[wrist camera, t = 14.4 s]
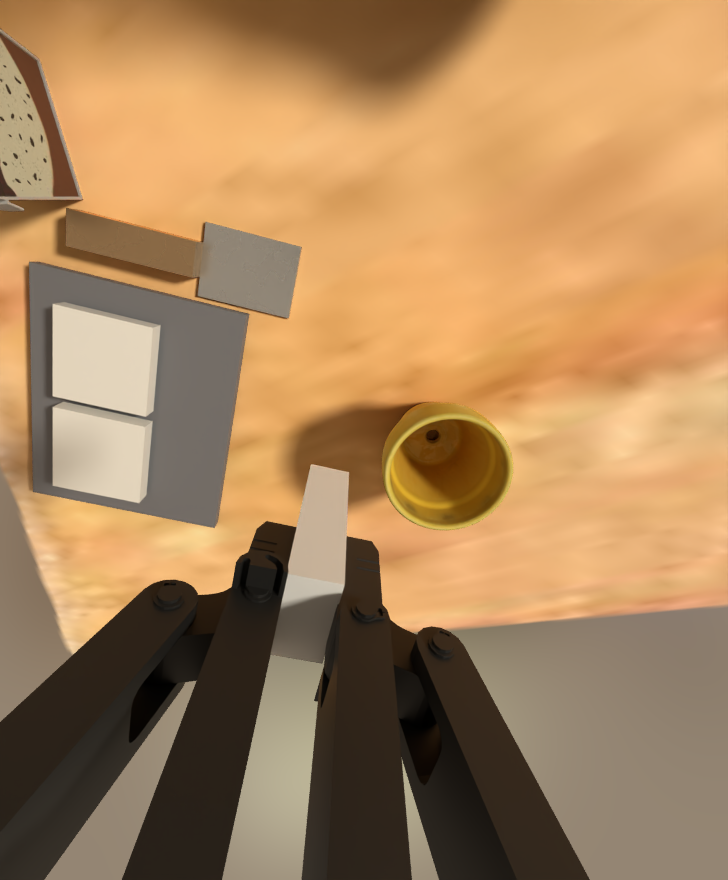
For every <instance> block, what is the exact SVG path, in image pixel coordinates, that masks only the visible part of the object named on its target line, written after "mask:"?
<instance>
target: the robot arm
mask: <svg viewBox="0 0 728 880" xmlns="http://www.w3.org/2000/svg"><path fill="white" fill-rule="evenodd" d="M348 488H349V472H346V471H341V470H337V469H332V468H327V467H323V466H318V465H314V464H311V466H310V471H309V475H308V479H307V484H306V488H305V493H304V497H303V502H302V506H301V510H300V515H299V519H298V524H297V527H293V526H288V525H283V524H278V523H273V522H268V521H266V522H265V523H264V524H262V525H261V526H260V527H259V528H257V530H256V533H255V536H254V538H253V541H252V544H251V546H250V549H249V552H248V553H246V554H244V555H242V556H240V558H239V559H238V560H237V562H236V566H235V572H234V578H233V583H232V587H231V588H229V589H228V590H226V591H223V592H220V593H216V594H209V595H198V593H197V592H196V590H195V589H194V587H193V586H191V585H189V584H188V583H186V582H183V581H178V580H163V581H160V582H156V583H153V584H151V585H150V586H148V587H147V588H145V589H144V590H143V591H142V592H141V593H140V594H139V595H137V596H136V597H135V598H134V599H133V600H132V601H131V602H130V603H129V604H128V605H127V606H126V607H124V608H123V609H122V610H121V611H120V612H119V613H118V614H117V615H116V616H115V617H114V618H113V619H111V620H110V621H109V622H108V623H107V624H106V625H105V626H104V627H103V628H102V629H101V630H100V631H98V632H97V633H96V634H95V635H94V636H93V637H92V638H91V639H90V640H89V641H88V642H86V643H85V644H84V645H83V646H82V647H81V648H80V649H79V650H78V651H77V652H76V653H75V654H73V655H72V656H71V657H70V658H69V659H68V660H67V661H66V662H65V663H64V664H63V665H62V666H60V667H59V668H58V669H57V670H56V671H55V672H54V673H53V674H52V675H51V676H50V677H49V678H48V679H46V680H45V681H44V682H43V683H42V684H41V685H40V686H39V687H38V688H37V689H36V690H35V691H34V692H32V693H31V694H30V695H29V696H28V697H27V698H26V699H25V700H24V701H23V702H21V703H20V704H19V705H18V706H17V707H16V708H15V709H14V710H13V711H12V712H11V713H10V714H8V715H7V716H6V717H5V718H4V719H3V720H2V721H1V722H0V880H44V879H45V878H46V877H47V875H48V874H49V872H50V871H51V869H52V868H53V867H54V865H55V864H56V863H57V861H58V860H59V858H60V857H61V856H62V854H63V853H64V852H65V850H66V849H67V847H68V846H69V844H70V843H71V842H72V840H73V839H74V838H75V836H76V835H77V833H78V832H79V831H80V829H81V828H82V827H83V825H84V824H85V822H86V821H87V820H88V818H89V817H90V815H91V814H92V813H93V811H94V810H95V809H96V807H97V806H98V804H99V803H100V801H101V800H102V799H103V797H104V796H105V795H106V793H107V792H108V790H109V789H110V788H111V786H112V785H113V783H114V782H115V781H116V779H117V778H118V776H119V775H120V774H121V772H122V771H123V770H124V768H125V767H126V765H127V764H128V763H129V761H130V760H131V758H132V757H133V756H134V754H135V753H136V752H137V750H138V749H139V747H140V746H141V745H142V743H143V742H144V741H145V739H146V738H147V736H148V735H149V734H150V732H151V731H152V729H153V728H154V727H155V725H156V724H157V722H158V721H159V720H160V718H161V717H162V715H163V714H164V713H165V711H166V710H167V709H168V707H169V706H170V704H171V703H172V702H173V700H174V699H175V698H176V696H177V695H178V693H179V692H180V691H181V689H182V688H183V686H184V684H185V682H189V681H196V684H195V687H194V689H193V692H192V695H191V698H190V700H189V703H188V705H187V708H186V711H185V713H184V716H183V719H182V721H181V724H180V727H179V729H178V732H177V735H176V737H175V740H174V743H173V745H172V748H171V751H170V753H169V756H168V759H167V761H166V764H165V766H164V769H163V772H162V774H161V777H160V780H159V782H158V785H157V788H156V790H155V793H154V796H153V798H152V801H151V804H150V806H149V809H148V812H147V814H146V817H145V820H144V822H143V825H142V828H141V830H140V833H139V836H138V838H137V841H136V843H135V846H134V849H133V851H132V854H131V857H130V859H129V862H128V865H127V867H126V870H125V873H124V875H123V878H122V880H222V876H223V871H224V867H225V862H226V857H227V853H228V849H229V844H230V839H231V835H232V830H233V825H234V821H235V816H236V812H237V807H238V802H239V798H240V793H241V788H242V784H243V779H244V775H245V770H246V765H247V761H248V756H249V751H250V747H251V742H252V737H253V733H254V728H255V724H256V718H257V714H258V710H259V705H260V700H261V696H262V691H263V686H264V682H265V677H266V672H267V668H268V663H269V659H270V655H276V656H282V657H288V658H293V659H299V660H305V661H310V662H316V663H323V659H324V656H325V662H324V668H323V672H322V675H321V679H320V683H319V686H318V689H317V692H316V696H315V699H314V701H318V707H317V719H316V729H315V740H314V751H313V761H312V773H311V783H310V794H309V805H308V816H307V828H306V838H305V849H304V860H303V871H302V880H412V876H411V864H410V854H409V841H408V829H407V817H406V805H405V794H404V782H403V771H402V760H403V764H404V767H405V770H406V773H407V777H408V780H409V783H410V786H411V790H412V793H413V796H414V799H415V802H416V806H417V809H418V812H419V816H420V819H421V822H422V825H423V829H424V832H425V835H426V838H427V842H428V845H429V848H430V851H431V855H432V858H433V861H434V864H435V868H436V871H437V874H438V877H439V880H590V879H589V877H588V876H587V874H586V872H585V870H584V868H583V866H582V864H581V863H580V861H579V859H578V857H577V855H576V853H575V851H574V850H573V848H572V846H571V844H570V842H569V840H568V838H567V837H566V835H565V833H564V831H563V829H562V827H561V826H560V824H559V822H558V820H557V818H556V816H555V814H554V812H553V811H552V809H551V807H550V805H549V803H548V801H547V799H546V798H545V796H544V794H543V792H542V790H541V789H540V786H539V784H538V783H537V781H536V779H535V777H534V775H533V773H532V771H531V770H530V768H529V766H528V764H527V762H526V760H525V759H524V757H523V755H522V753H521V751H520V749H519V747H518V745H517V744H516V742H515V740H514V738H513V736H512V734H511V732H510V730H509V729H508V727H507V725H506V723H505V721H504V720H503V718H502V716H501V714H500V712H499V710H498V708H497V706H496V705H495V703H494V701H493V699H492V697H491V695H490V693H489V692H488V690H487V688H486V686H485V684H484V682H483V680H482V678H481V677H480V675H479V673H478V671H477V669H476V667H475V666H474V664H473V662H472V660H471V658H470V656H469V654H468V652H467V651H466V649H465V647H464V645H463V644H462V643H461V642H460V640H459V639H458V638H457V637H456V636H455V635H453V634H452V633H451V632H449V631H447V630H444V629H442V628H438V627H427V628H423V629H422V630H421V631H419V632H418V635H416V634H414V633H412V632H409V631H407V630H405V629H403V628H401V627H399V626H398V625H396V624H395V623H394V622H392V621H391V620H390V618H389V614H388V611H387V609H386V608H385V607H384V606H383V605H382V593H381V579H380V565H379V552H378V550H377V549H376V547H375V546H374V544H373V542H372V541H367V540H362V539H357V538H352V537H347V513H348ZM401 757H402V758H401Z"/></svg>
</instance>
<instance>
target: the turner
mask: <svg viewBox="0 0 728 880" xmlns="http://www.w3.org/2000/svg"><path fill="white" fill-rule="evenodd" d="M66 246H68V247H72V248H76V249H80V250H84V251H88V252H92V253H96V254H100V255H104V256H108V257H111V258H115V259H119V260H123V261H127V262H131V263H135V264H139V265H143V266H147V267H151V268H155V269H159V270H163V271H167V272H171V273H175V274H179V275H183V276H187V277H191V278H195V277H200V279H199V288H198V296H200V297H204V298H208V299H212V300H216V301H220V302H224V303H228V304H233V305H237V306H241V307H245V308H249V309H253V310H257V311H261V312H265V313H269V314H273V315H277V316H281V317H285V318H289V316H290V310H291V305H292V299H293V294H294V288H295V283H296V277H297V272H298V266H299V261H300V255H301V250H302V247H299V246H295V245H292V244H288V243H284V242H280V241H277V240H273V239H269V238H265V237H261V236H258V235H254V234H250V233H246V232H242V231H239V230H235V229H231V228H227V227H224V226H220V225H216V224H212V223H208V222H206V224H205V233H204V242H201V241H197V240H193V239H189V238H186V237H182V236H178V235H174V234H170V233H166V232H162V231H159V230H155V229H151V228H147V227H143V226H139V225H135V224H132V223H128V222H124V221H120V220H116V219H112V218H108V217H105V216H101V215H97V214H93V213H89V212H85V211H81V210H75V209H69V208H66Z"/></svg>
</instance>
